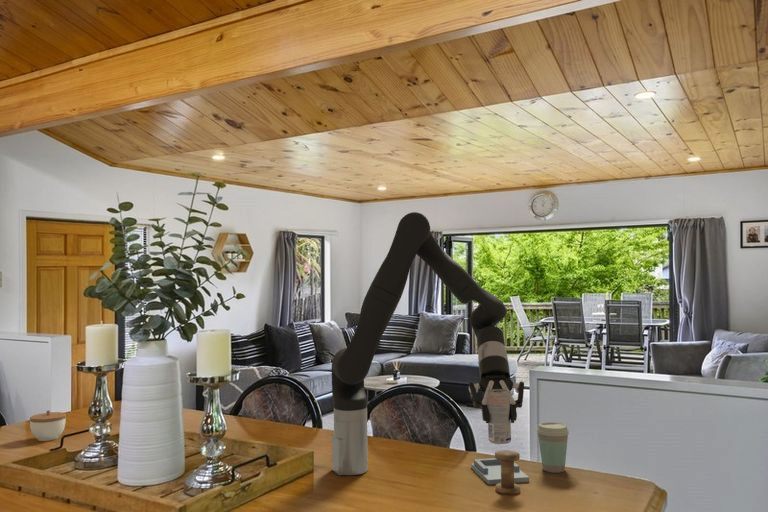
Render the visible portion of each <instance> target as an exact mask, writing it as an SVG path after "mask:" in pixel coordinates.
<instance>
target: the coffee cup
mask: <svg viewBox="0 0 768 512" xmlns="http://www.w3.org/2000/svg"><path fill="white" fill-rule="evenodd" d="M536 433H537V435H538V443H539V451H540V458H541V466H542V470H543V471H545V472H548V473H551V474H552V473H554V474H555V473H557V474H560V473H563V472H565V470H566V469H565V468H566V458H567V450H568V449H567V448H568V439H569V438H568V436H569V435H570V432H569V429H568V426H567V424H564V423H563V422H562V423H561V422H557V421H555V422H554V421H544V422H539V424H538V425H537V428H536Z"/></svg>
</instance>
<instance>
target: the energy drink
mask: <svg viewBox="0 0 768 512" xmlns="http://www.w3.org/2000/svg"><path fill="white" fill-rule="evenodd" d="M487 406H488V413H489V423H487V430H488V431H487V434H488V435H487V436H488V438H487V439H488V441H489V443H492V444H495V445H505V444H506V445H507V444H509V443H511V441H512V427H511V426H512V425H511V424H512V423H511V419H510V394H509V391H508V390H504V389H491V390H488V393H487Z"/></svg>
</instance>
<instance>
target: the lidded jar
mask: <svg viewBox="0 0 768 512" xmlns="http://www.w3.org/2000/svg"><path fill="white" fill-rule="evenodd" d="M66 417H67V413H65V412H62V411H60V412H59V411H55V412H54V411H53V412H51V410H49V409H48V410H46V412H44V413H38V414H34V415H31V416H30V417H29V424H30V425H29V426H30V432H31V434H32V436H33V437H34V438H35V439H37V441H39V442H47V441H54V440H57V439H59V437H60V436H61V435H62V433H63V432H64V430H65V427H66V422H67V421H66Z"/></svg>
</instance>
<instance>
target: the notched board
mask: <svg viewBox="0 0 768 512" xmlns="http://www.w3.org/2000/svg"><path fill="white" fill-rule="evenodd" d="M470 467H471V468H470V469H472V470H473V471H474V472H475V473H476V474H477V475H478V476H479V477H480V479H482V480H483V481H484V482H485V483H486V484H487V485H489V486H490V485H496V484H498V483H501V460H498V459H496V458H495V457H494V458H493V457H491V458H477V459H473V463H470ZM529 482H530V476H529V475H527V474H526V473H525V472H524V471H522V470H521V469H520V465H519V464H517V463H516V461H514V483H515V484H517V483H519V484H520V483H529Z"/></svg>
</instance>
